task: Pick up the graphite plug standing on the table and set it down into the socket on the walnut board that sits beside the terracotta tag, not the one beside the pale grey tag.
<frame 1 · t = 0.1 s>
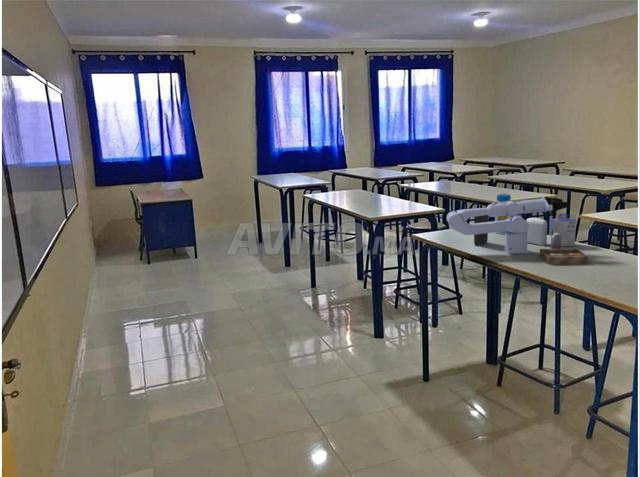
hand: (565, 202, 230), 22 cm above the table, tool horizontal, fingers open, 7 cm apart
ink cartridge box: (562, 245, 244), on the table
plug: (555, 252, 232), on the table
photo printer: (535, 243, 250), on the table
beverage bottle: (502, 232, 275), on the table
black upright block: (480, 244, 255), on the table
socket board: (562, 259, 221), on the table
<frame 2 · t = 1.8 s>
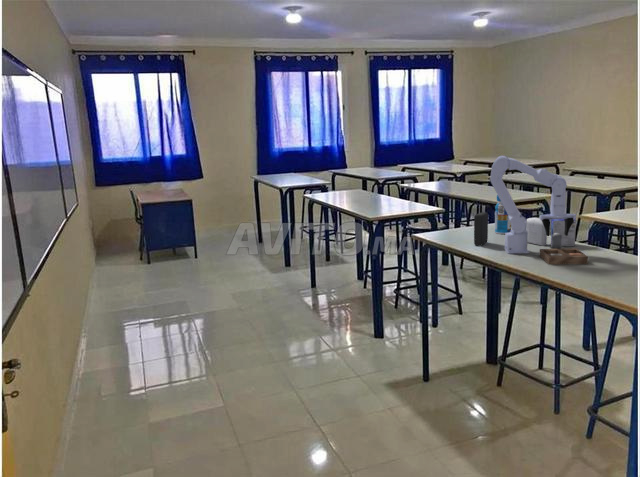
hand: (556, 235, 230), 8 cm above the table, tool pointing down, fingers open, 7 cm apart
nothing on the table moved.
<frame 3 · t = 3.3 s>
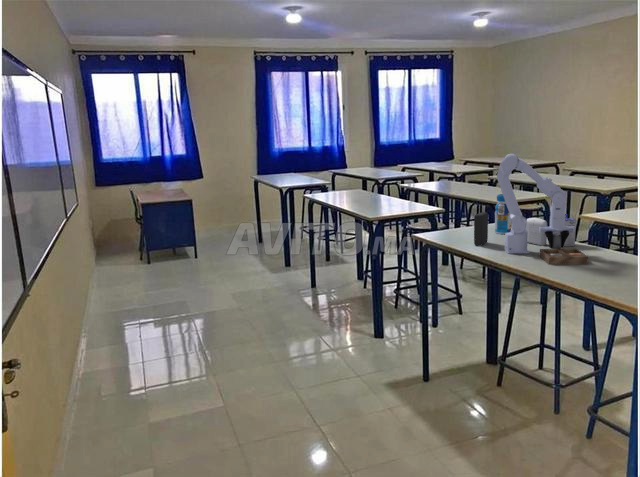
hand: (556, 247, 231), 2 cm above the table, tool pointing down, fingers closed on plug, 4 cm apart
plug: (555, 252, 232), on the table, touching gripper
everything else where it was.
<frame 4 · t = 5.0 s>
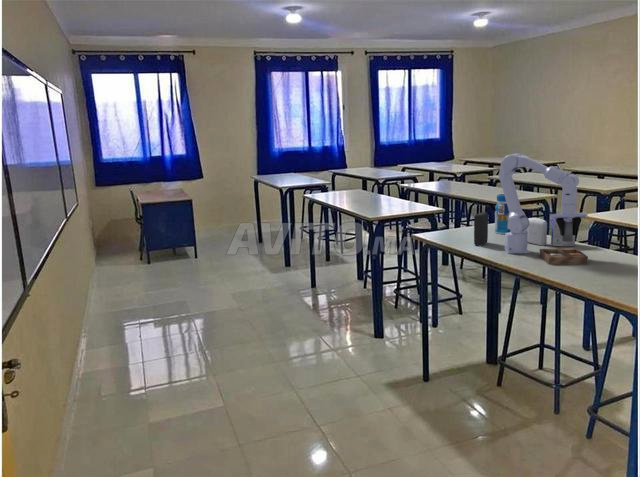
hand: (567, 235, 223), 10 cm above the table, tool pointing down, fingers closed on plug, 4 cm apart
plug: (567, 240, 223), point 7 cm above the table, touching gripper
everything else where it was.
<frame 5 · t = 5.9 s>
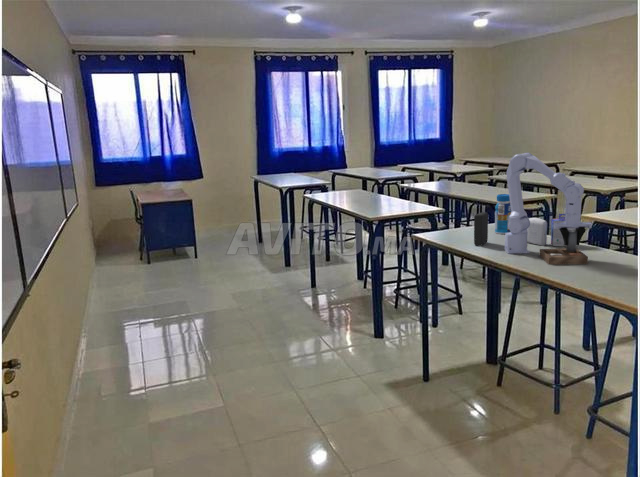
hand: (571, 244, 221), 6 cm above the table, tool pointing down, fingers closed on plug, 4 cm apart
plug: (571, 250, 221), point 4 cm above the table, touching gripper
everything else where it was.
when the fingers open (4 cm above the table, at t = 6.8 s): plug drops 1 cm, resting in socket board.
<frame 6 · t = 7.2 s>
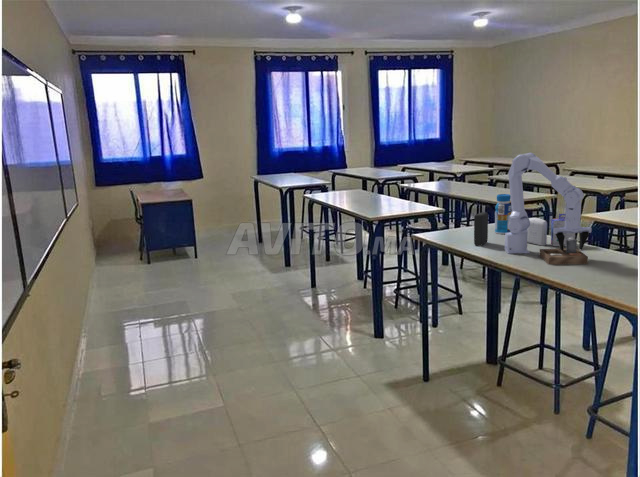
hand: (571, 249, 221), 4 cm above the table, tool pointing down, fingers open, 7 cm apart
plug: (570, 258, 222), resting in socket board
everything else where it was.
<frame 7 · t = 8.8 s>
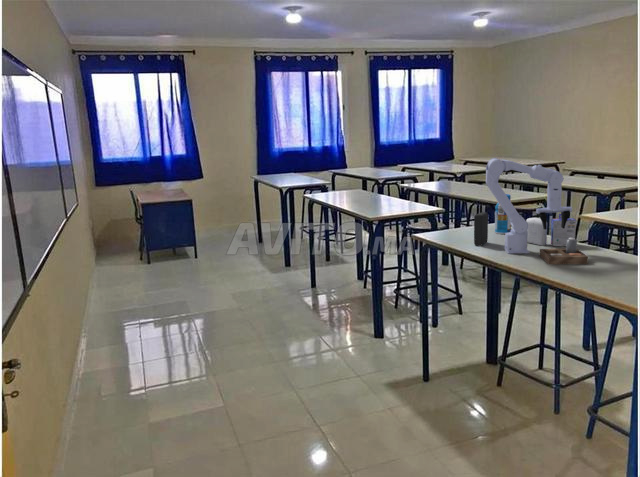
hand: (553, 228, 232), 10 cm above the table, tool pointing down, fingers open, 7 cm apart
nothing on the table moved.
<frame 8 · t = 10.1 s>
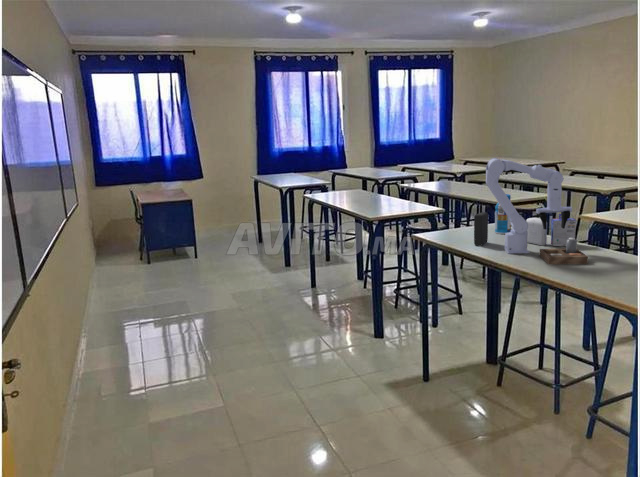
hand: (553, 228, 232), 10 cm above the table, tool pointing down, fingers open, 7 cm apart
nothing on the table moved.
at the end: plug 0.1 cm from the target spot on the socket board, point 0.0 cm above the socket board's base; plug tilted 0°; the gripper is holding nothing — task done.
